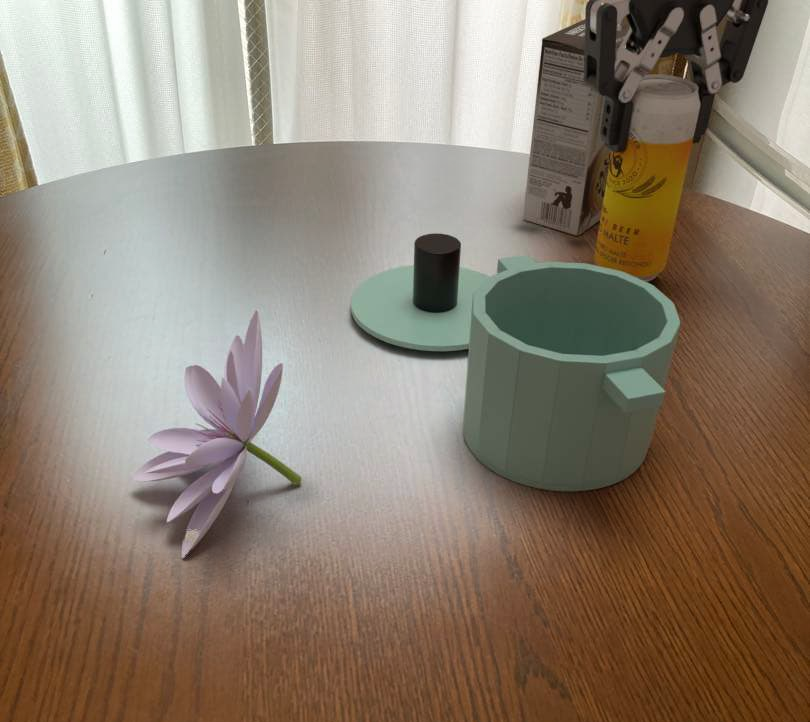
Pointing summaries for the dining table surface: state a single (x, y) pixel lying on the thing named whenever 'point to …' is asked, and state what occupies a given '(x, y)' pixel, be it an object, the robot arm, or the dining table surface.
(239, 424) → the water lily
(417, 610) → the dining table surface
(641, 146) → the beer can
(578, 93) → the coffee box
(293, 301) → the dining table surface
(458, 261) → the lid
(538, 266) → the pot
